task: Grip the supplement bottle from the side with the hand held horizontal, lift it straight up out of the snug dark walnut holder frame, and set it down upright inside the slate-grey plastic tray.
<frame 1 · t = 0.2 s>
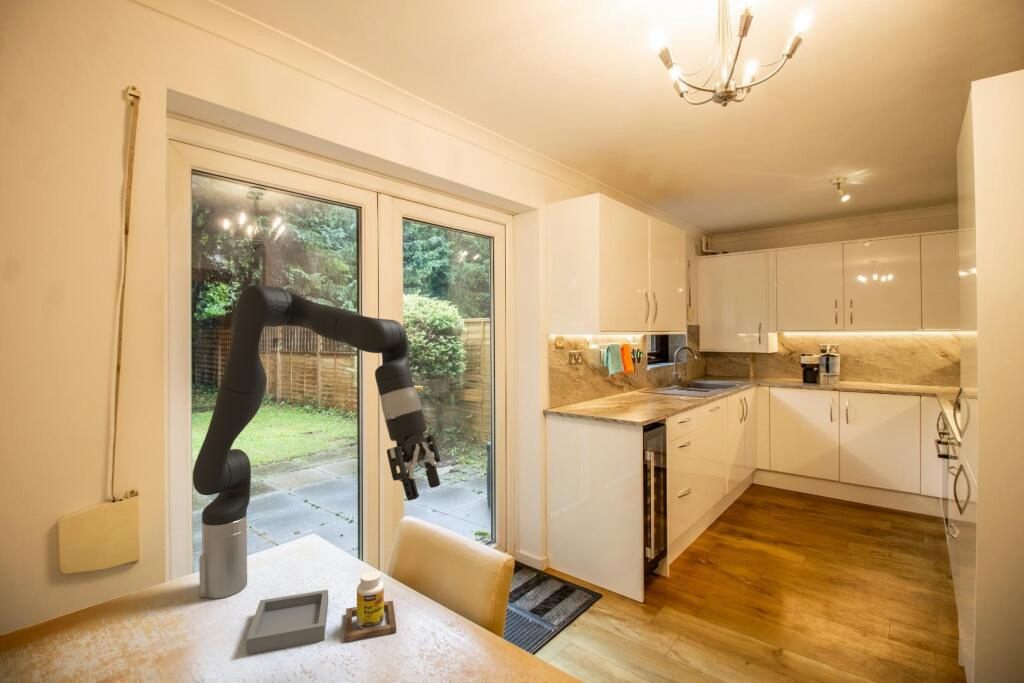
hand: (424, 492, 93), 30 cm above the table, tool tilted 20°, fingers open, 8 cm apart
holder frame: (370, 622, 101), on the table
supplement bottle: (370, 624, 101), resting in holder frame
tray: (290, 626, 99), on the table
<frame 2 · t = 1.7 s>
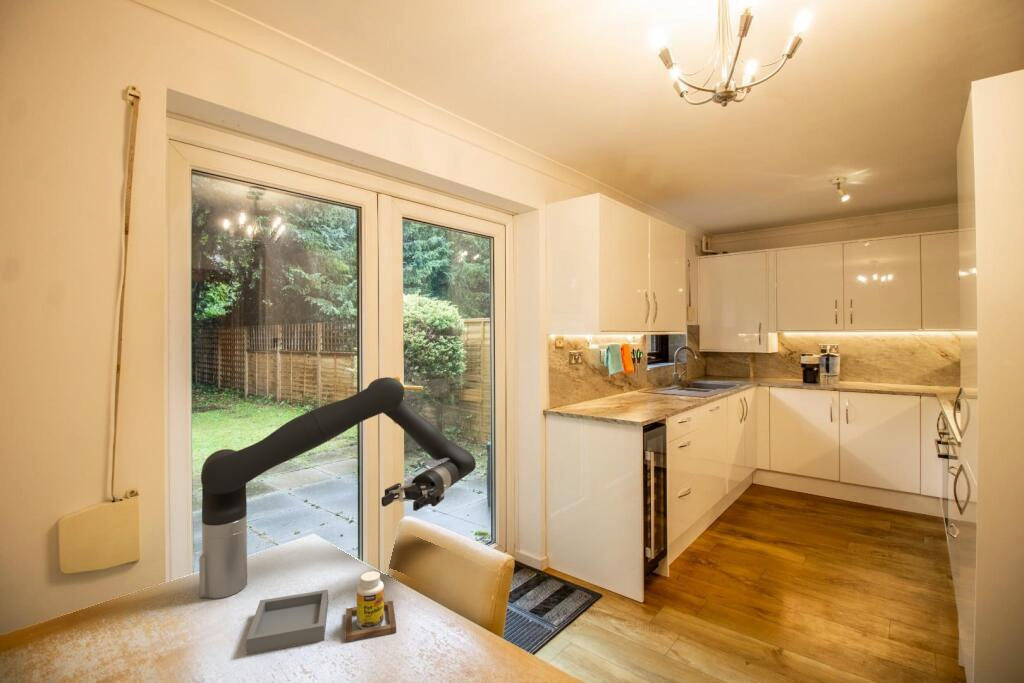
hand: (398, 504, 111), 22 cm above the table, tool horizontal, fingers open, 8 cm apart
nothing on the table moved.
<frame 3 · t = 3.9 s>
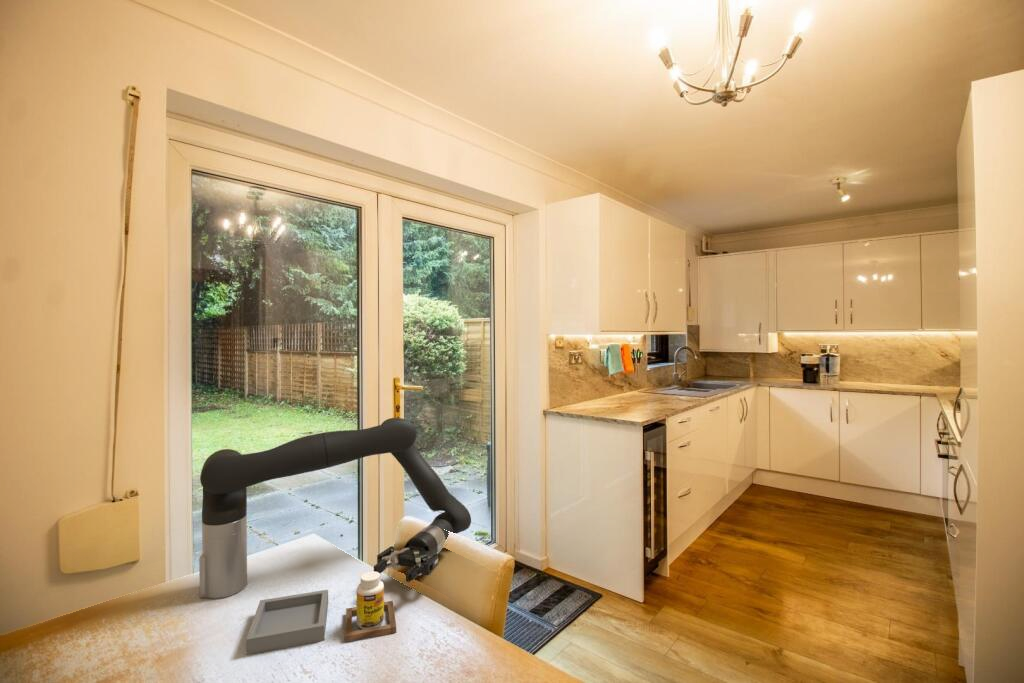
hand: (391, 574, 108), 6 cm above the table, tool horizontal, fingers open, 8 cm apart
nothing on the table moved.
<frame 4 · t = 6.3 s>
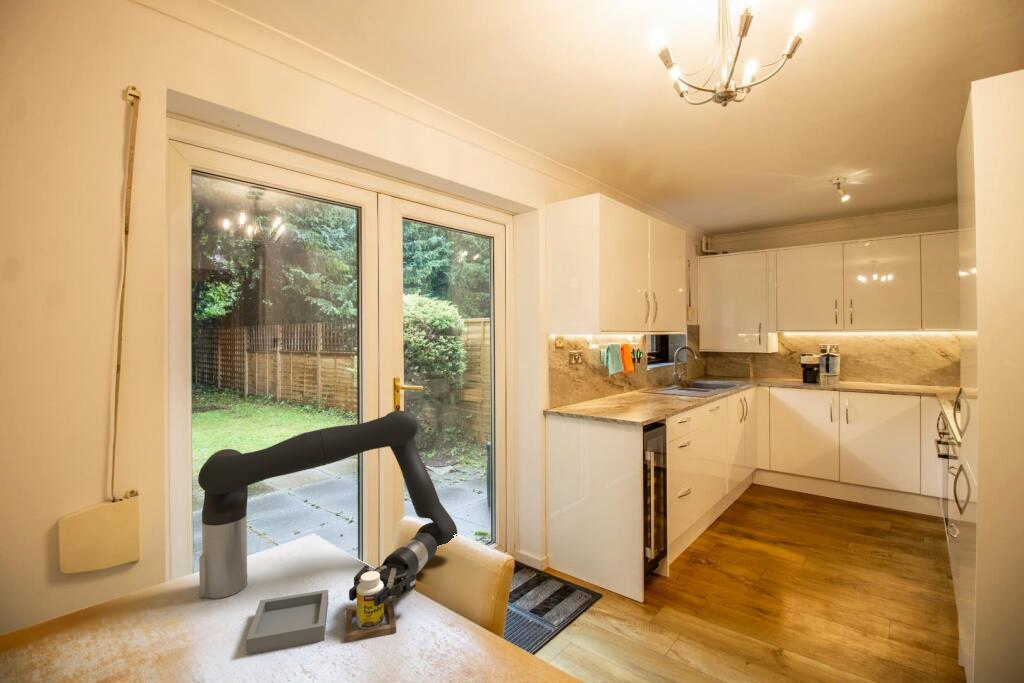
hand: (363, 598, 98), 7 cm above the table, tool horizontal, fingers closed on supplement bottle, 5 cm apart
supplement bottle: (370, 623, 101), resting in holder frame, touching gripper
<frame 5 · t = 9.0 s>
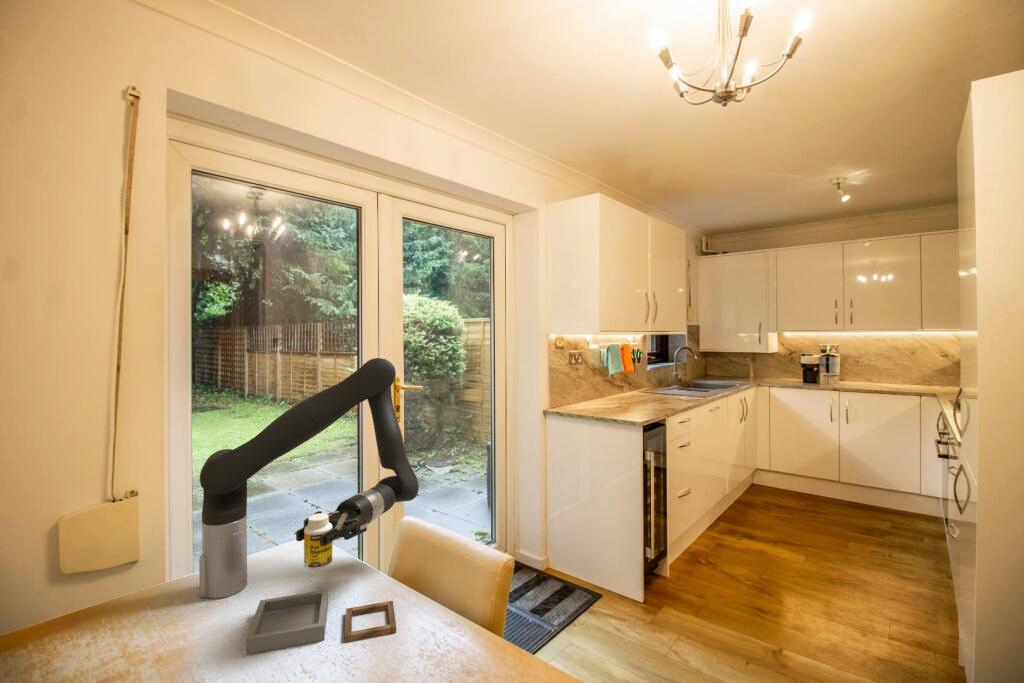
hand: (309, 538, 97), 20 cm above the table, tool horizontal, fingers closed on supplement bottle, 5 cm apart
supplement bottle: (318, 565, 99), point 13 cm above the table, touching gripper
when the fingers open (9 cm above the table, at t = 12.0 s): supplement bottle drops 1 cm, resting on tray.
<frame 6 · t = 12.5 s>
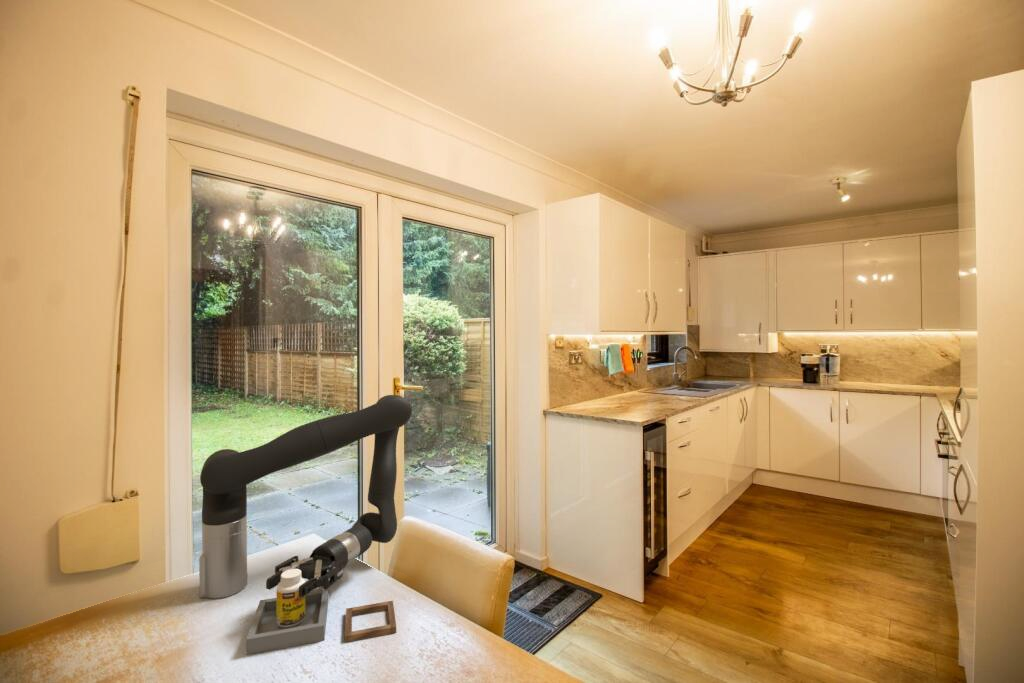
hand: (283, 588, 97), 9 cm above the table, tool horizontal, fingers open, 8 cm apart
supplement bottle: (291, 622, 100), point 1 cm above the table, touching tray
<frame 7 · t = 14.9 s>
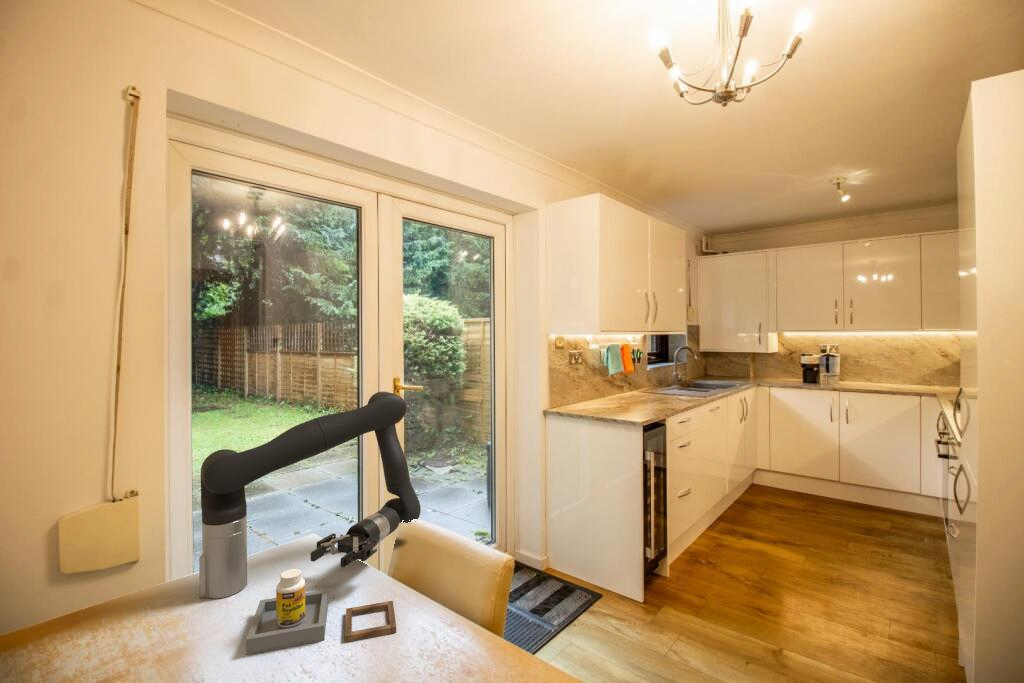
hand: (326, 560, 110), 9 cm above the table, tool horizontal, fingers open, 8 cm apart
nothing on the table moved.
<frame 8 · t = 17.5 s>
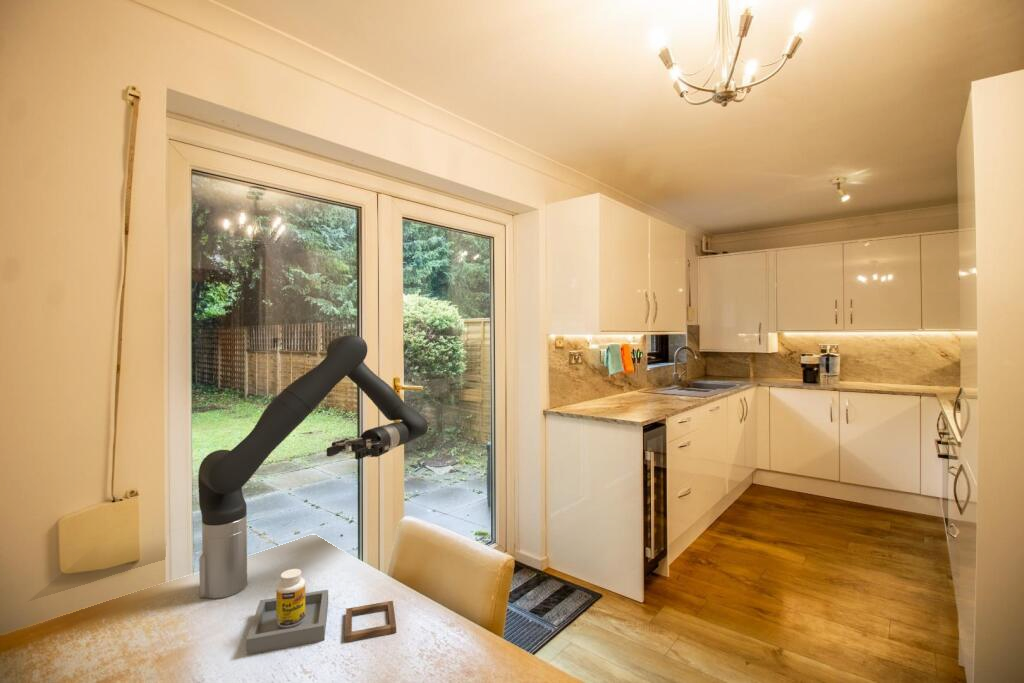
hand: (341, 454, 117), 32 cm above the table, tool horizontal, fingers open, 8 cm apart
nothing on the table moved.
at the end: supplement bottle inside the target area on the tray (0.2 cm from its centre), point 0.8 cm above the tray's base; supplement bottle tilted 0°; the gripper is holding nothing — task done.
